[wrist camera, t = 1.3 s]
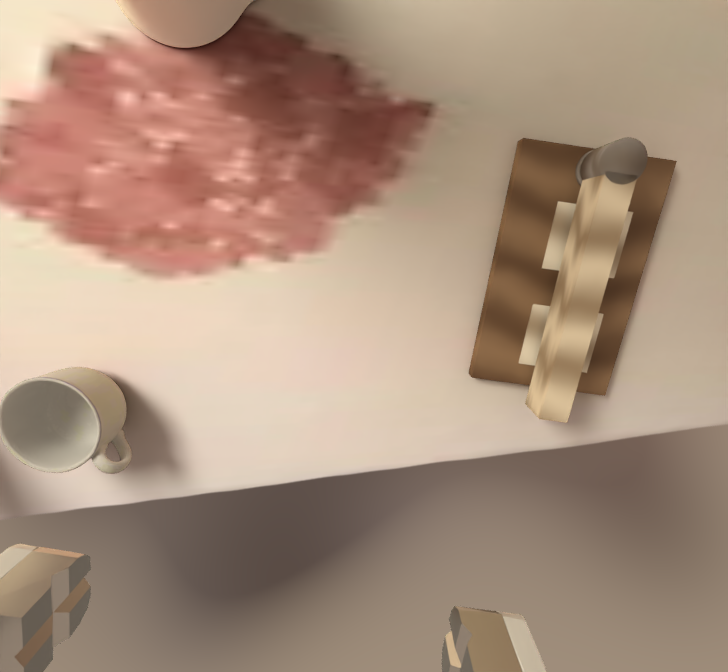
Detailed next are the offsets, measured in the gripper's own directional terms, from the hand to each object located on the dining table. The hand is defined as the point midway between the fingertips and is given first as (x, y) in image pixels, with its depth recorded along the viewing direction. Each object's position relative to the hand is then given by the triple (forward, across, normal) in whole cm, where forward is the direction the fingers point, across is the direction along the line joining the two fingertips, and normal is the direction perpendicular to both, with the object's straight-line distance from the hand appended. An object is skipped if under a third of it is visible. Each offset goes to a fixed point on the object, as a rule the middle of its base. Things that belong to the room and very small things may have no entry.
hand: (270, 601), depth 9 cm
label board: (+39, -23, -8) cm, 46 cm away
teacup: (+39, +29, +17) cm, 51 cm away
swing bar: (+36, -23, -7) cm, 43 cm away
